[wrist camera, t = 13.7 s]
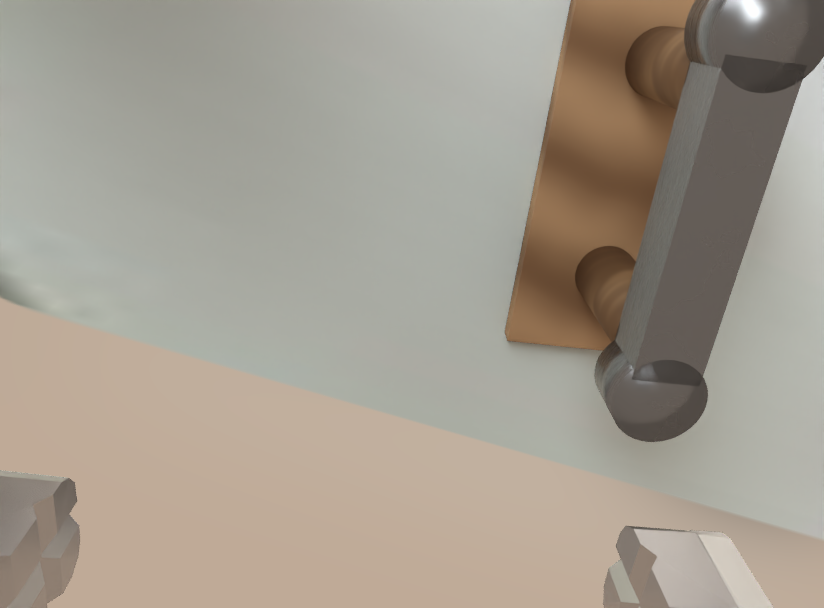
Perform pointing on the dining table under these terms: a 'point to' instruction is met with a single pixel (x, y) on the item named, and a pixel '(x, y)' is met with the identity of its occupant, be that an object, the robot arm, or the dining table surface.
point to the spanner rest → (598, 169)
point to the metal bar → (705, 205)
